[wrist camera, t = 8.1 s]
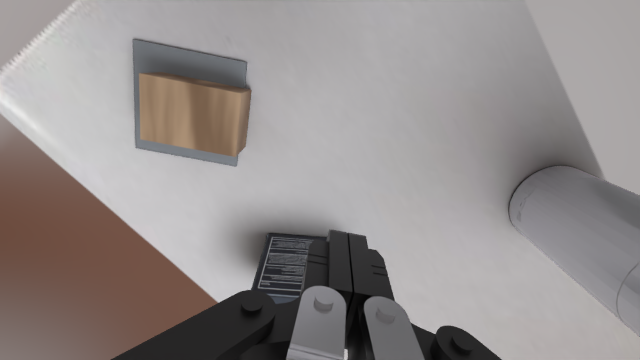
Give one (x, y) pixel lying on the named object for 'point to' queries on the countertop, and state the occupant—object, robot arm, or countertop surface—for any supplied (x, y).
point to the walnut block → (193, 113)
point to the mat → (187, 65)
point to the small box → (282, 266)
